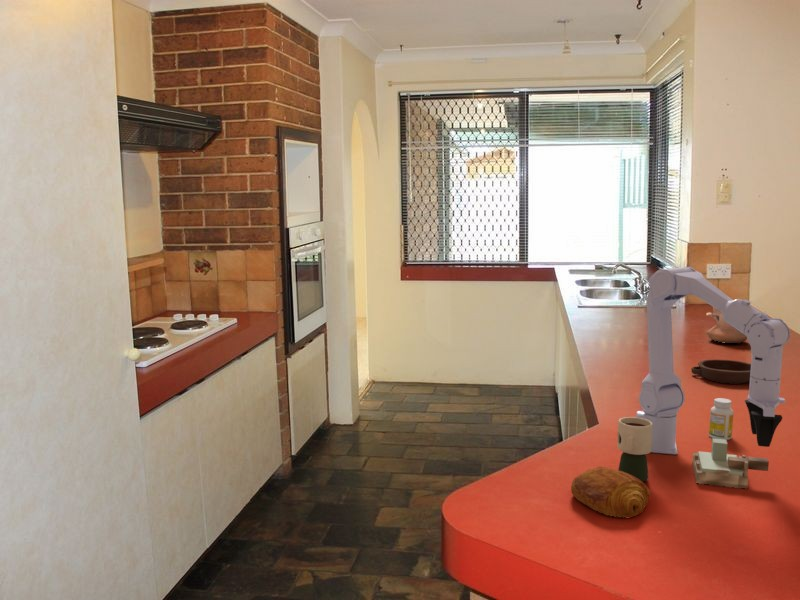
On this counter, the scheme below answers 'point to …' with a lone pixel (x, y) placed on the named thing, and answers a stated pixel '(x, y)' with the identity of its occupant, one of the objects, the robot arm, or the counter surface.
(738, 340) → the ceramic jug
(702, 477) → the box
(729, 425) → the supplement bottle
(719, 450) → the lid
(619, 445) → the character mug
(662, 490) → the counter surface
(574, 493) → the croissant
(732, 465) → the brown rectangular bar
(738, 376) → the dish
